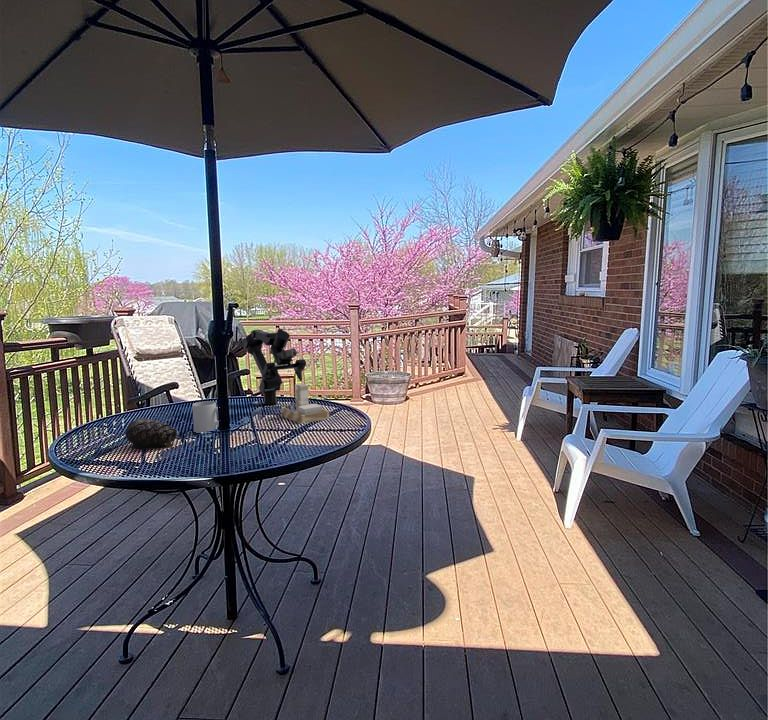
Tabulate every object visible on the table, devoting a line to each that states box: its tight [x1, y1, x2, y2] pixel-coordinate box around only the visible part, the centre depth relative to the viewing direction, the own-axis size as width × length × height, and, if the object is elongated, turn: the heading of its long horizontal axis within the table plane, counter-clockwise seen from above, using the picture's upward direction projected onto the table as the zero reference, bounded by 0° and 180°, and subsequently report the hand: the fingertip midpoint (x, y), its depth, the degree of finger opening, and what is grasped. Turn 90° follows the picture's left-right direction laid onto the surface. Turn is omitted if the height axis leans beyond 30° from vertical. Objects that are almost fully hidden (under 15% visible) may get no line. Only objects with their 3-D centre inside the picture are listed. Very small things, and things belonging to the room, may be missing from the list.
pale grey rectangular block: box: [294, 383, 310, 412], centre depth 201 cm, size 5×4×13 cm
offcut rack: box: [279, 403, 332, 425], centre depth 200 cm, size 20×14×4 cm
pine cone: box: [124, 417, 178, 450], centre depth 167 cm, size 10×18×10 cm, turn 90°
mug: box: [191, 400, 220, 433], centre depth 183 cm, size 12×8×11 cm
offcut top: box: [298, 403, 323, 415], centre depth 196 cm, size 6×8×2 cm
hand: (291, 381), depth 208 cm, fingers open, 9 cm apart
